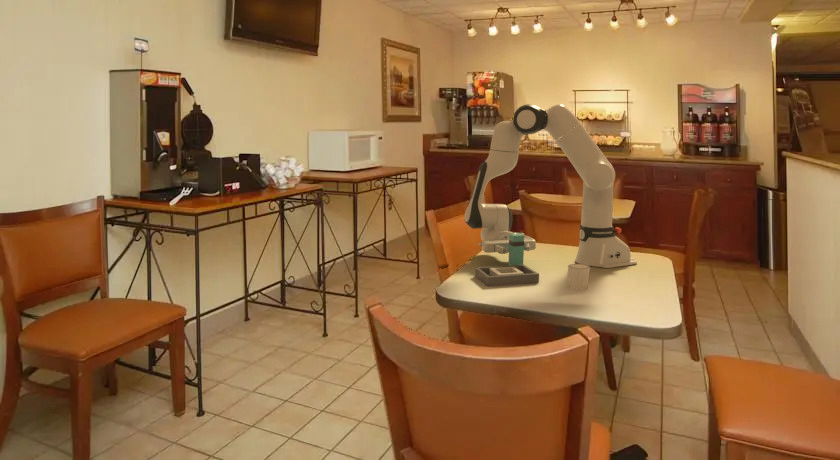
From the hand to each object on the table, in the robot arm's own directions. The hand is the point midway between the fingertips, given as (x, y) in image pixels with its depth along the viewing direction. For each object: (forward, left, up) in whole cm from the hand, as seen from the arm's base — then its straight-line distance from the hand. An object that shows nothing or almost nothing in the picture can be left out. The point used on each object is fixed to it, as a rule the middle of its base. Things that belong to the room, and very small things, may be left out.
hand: (516, 249), depth 203 cm
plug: (0, 0, -8) cm, 8 cm away
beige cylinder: (-11, +26, -8) cm, 29 cm away
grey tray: (+8, +11, -8) cm, 16 cm away
